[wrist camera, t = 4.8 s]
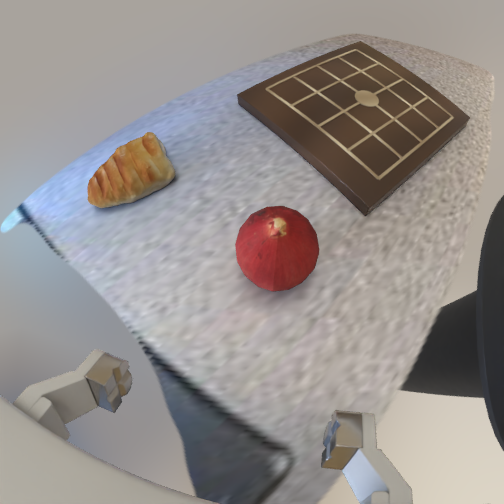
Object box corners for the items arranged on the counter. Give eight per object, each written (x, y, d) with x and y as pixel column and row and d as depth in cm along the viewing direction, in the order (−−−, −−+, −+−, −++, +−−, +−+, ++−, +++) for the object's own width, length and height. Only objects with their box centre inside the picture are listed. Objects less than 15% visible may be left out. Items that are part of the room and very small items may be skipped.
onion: (230, 251, 26) (211, 203, 19) (290, 221, 27) (294, 165, 19) (261, 313, 24) (254, 286, 16) (325, 279, 24) (345, 239, 17)
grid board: (465, 125, 30) (470, 116, 28) (365, 216, 26) (369, 207, 25) (359, 48, 36) (360, 40, 35) (238, 103, 32) (236, 93, 31)
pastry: (102, 228, 28) (82, 210, 24) (88, 183, 30) (71, 164, 27) (183, 179, 29) (172, 155, 26) (160, 140, 31) (149, 116, 28)
